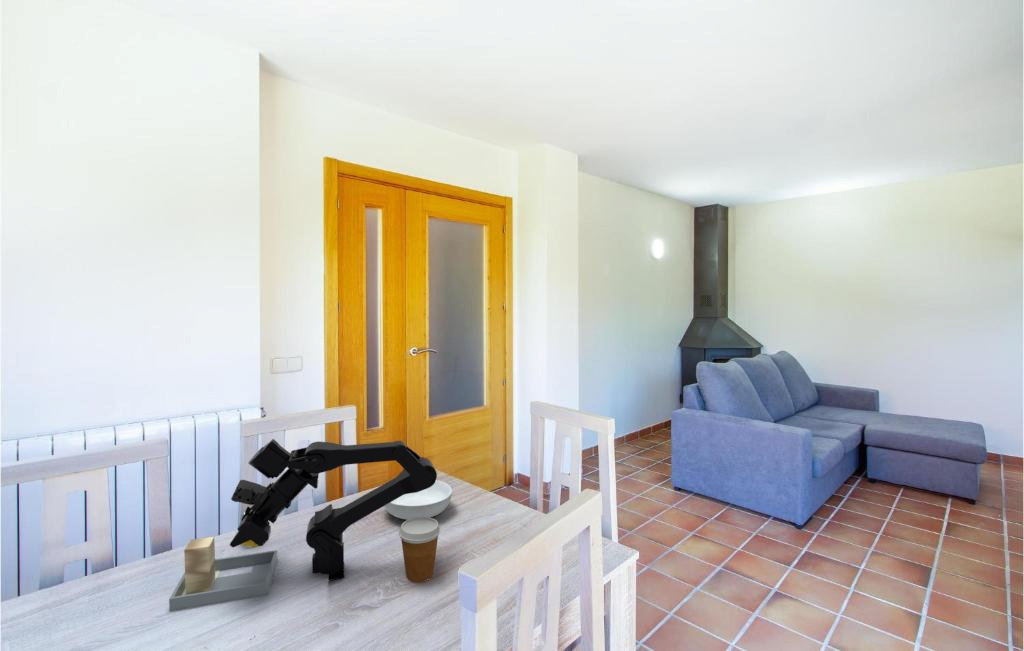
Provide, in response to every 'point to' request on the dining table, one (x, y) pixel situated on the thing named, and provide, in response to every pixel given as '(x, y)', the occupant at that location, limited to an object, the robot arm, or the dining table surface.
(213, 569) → the maple post
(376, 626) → the dining table surface
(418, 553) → the disposable coffee cup
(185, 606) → the box
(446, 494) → the serving bowl
